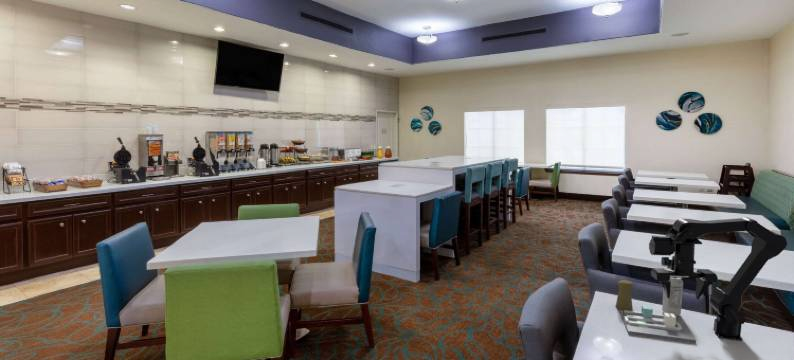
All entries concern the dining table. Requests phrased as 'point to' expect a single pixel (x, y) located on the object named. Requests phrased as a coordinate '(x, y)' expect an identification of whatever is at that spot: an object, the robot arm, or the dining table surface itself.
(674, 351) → the dining table surface
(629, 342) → the dining table surface
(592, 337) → the dining table surface
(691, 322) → the dining table surface
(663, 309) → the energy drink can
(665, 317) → the fader cap
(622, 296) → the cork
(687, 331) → the console board
